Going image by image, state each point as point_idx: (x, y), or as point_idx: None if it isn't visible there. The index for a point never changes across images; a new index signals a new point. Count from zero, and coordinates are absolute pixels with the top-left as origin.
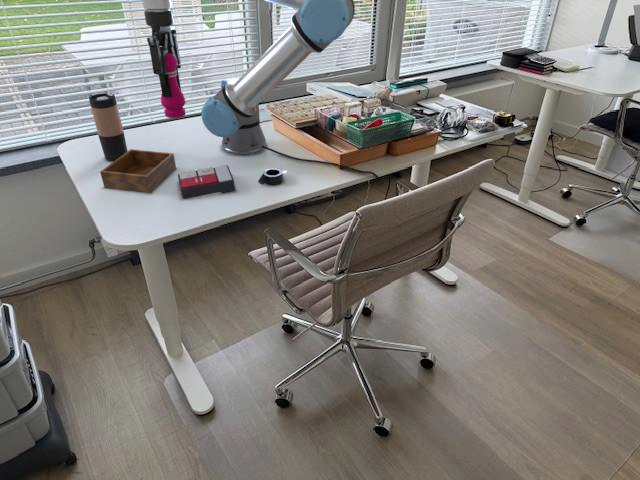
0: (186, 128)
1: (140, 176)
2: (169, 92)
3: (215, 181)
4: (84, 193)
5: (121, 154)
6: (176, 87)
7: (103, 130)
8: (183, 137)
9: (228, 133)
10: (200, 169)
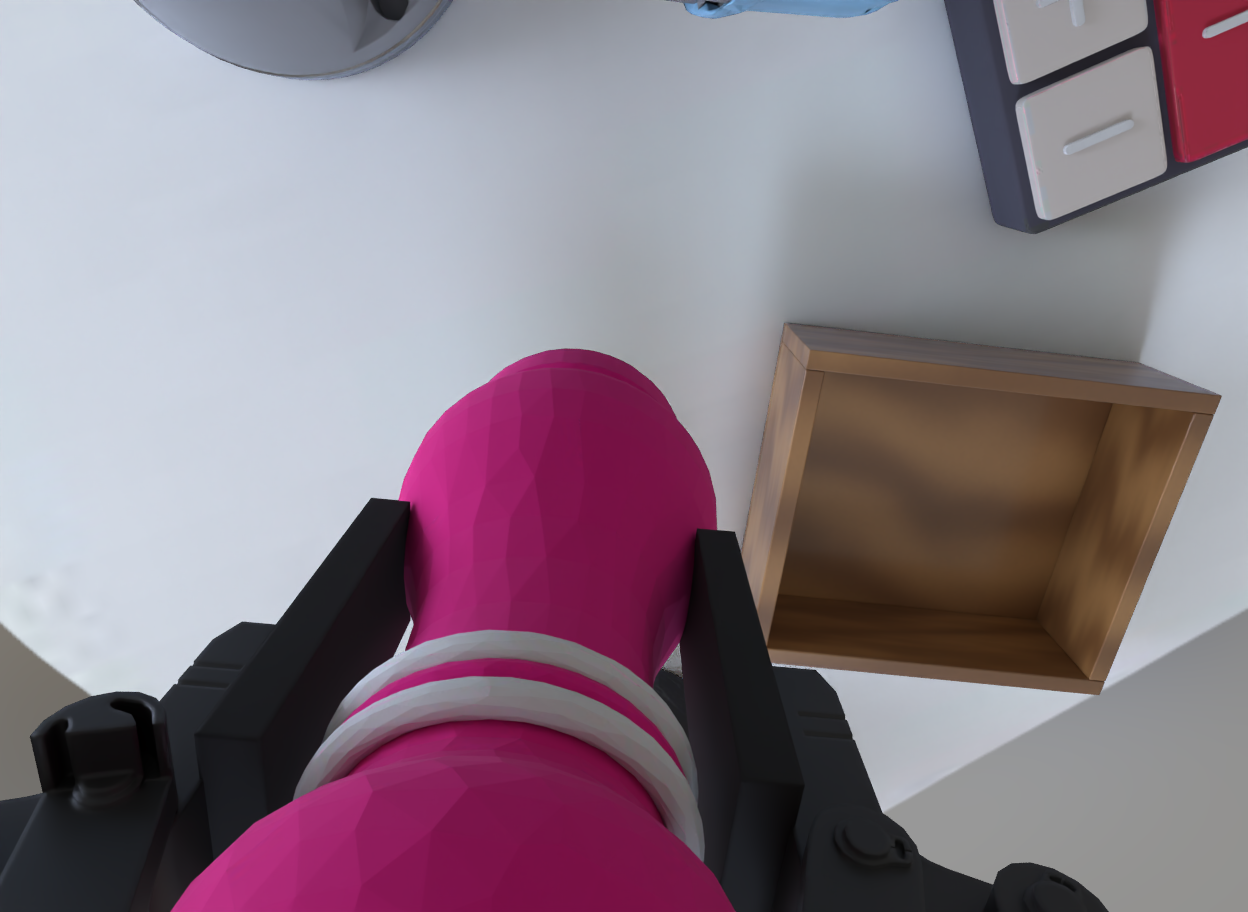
0: (69, 485)
1: (1202, 441)
2: (741, 578)
3: None
4: None
5: (683, 701)
6: (583, 532)
7: None
8: (241, 451)
9: None
10: (1031, 50)
